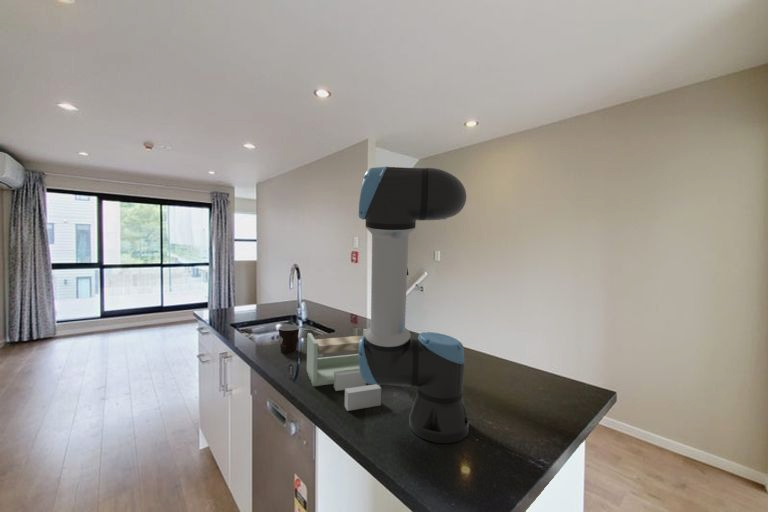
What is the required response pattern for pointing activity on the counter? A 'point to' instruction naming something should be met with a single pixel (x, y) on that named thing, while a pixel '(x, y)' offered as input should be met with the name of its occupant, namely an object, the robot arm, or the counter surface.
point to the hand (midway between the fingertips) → (392, 291)
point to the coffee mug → (288, 338)
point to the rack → (356, 390)
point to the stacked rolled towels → (338, 344)
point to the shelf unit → (327, 363)
